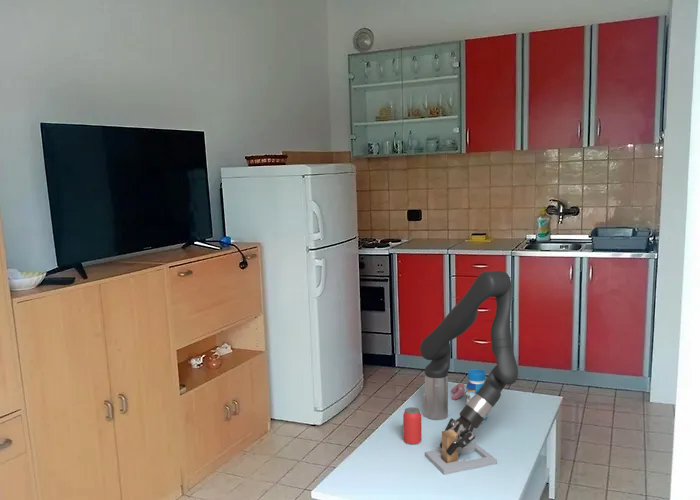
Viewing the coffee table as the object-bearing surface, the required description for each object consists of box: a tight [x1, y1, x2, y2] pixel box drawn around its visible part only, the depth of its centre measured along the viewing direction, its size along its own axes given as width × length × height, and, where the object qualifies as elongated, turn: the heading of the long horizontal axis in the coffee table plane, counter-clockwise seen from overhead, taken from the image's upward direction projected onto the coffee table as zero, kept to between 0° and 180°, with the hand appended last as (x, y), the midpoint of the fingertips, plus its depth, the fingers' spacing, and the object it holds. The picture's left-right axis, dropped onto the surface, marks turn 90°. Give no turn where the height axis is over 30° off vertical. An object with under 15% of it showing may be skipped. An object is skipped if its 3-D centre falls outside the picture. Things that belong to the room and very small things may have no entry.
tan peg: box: [441, 429, 459, 463], centre depth 197 cm, size 4×4×10 cm
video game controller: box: [450, 382, 466, 401], centre depth 256 cm, size 10×5×7 cm, turn 171°
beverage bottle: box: [465, 368, 488, 424], centre depth 230 cm, size 8×8×20 cm
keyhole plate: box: [424, 442, 498, 476], centre depth 199 cm, size 20×14×2 cm
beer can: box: [402, 406, 422, 445], centre depth 213 cm, size 7×7×12 cm
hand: (444, 450), depth 196 cm, fingers closed on tan peg, 4 cm apart
